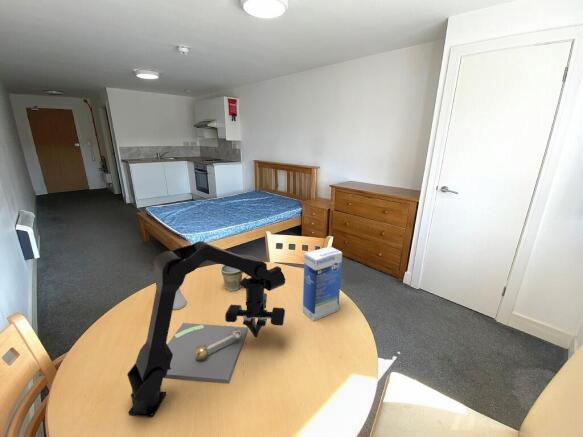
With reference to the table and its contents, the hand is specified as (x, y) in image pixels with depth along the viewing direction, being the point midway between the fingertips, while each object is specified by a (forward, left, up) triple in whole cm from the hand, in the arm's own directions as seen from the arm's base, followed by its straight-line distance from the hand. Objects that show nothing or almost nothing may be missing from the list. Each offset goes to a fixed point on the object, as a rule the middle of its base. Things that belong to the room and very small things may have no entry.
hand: (256, 336), depth 88 cm
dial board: (-5, +16, -3) cm, 17 cm away
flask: (+18, +37, -3) cm, 41 cm away
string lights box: (+20, -22, -3) cm, 30 cm away
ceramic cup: (+34, +17, -3) cm, 38 cm away
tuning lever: (-5, +11, -1) cm, 12 cm away
